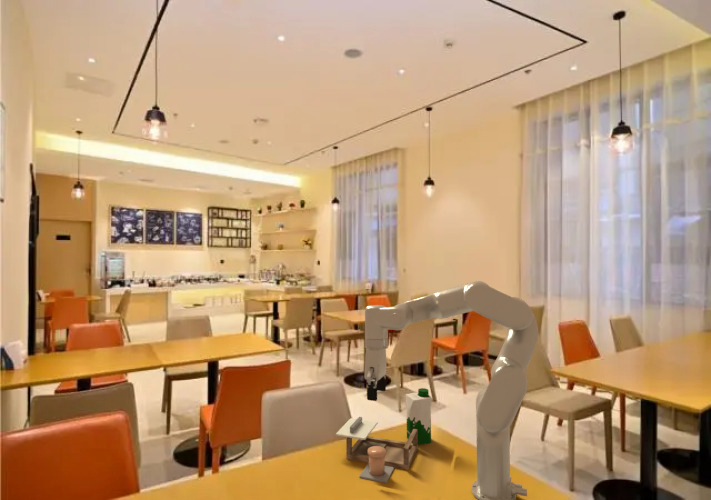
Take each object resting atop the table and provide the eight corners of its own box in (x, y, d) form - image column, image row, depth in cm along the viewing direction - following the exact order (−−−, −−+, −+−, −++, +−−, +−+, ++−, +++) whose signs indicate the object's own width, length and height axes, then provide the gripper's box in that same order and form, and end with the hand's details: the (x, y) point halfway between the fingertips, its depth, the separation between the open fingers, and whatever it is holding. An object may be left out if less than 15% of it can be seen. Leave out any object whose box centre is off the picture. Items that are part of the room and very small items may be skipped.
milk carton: (434, 445, 152) (434, 392, 153) (413, 449, 150) (412, 395, 150) (424, 436, 161) (423, 385, 161) (403, 439, 158) (403, 388, 158)
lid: (377, 423, 153) (377, 416, 153) (364, 440, 139) (364, 432, 139) (350, 419, 157) (350, 412, 157) (335, 435, 143) (335, 428, 143)
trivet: (394, 471, 134) (394, 467, 134) (386, 486, 125) (386, 481, 125) (368, 467, 137) (368, 462, 137) (359, 480, 128) (359, 475, 129)
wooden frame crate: (417, 451, 148) (417, 429, 148) (407, 472, 133) (407, 448, 133) (361, 441, 156) (361, 421, 156) (346, 461, 141) (346, 438, 141)
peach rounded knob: (388, 469, 133) (388, 447, 133) (383, 478, 127) (382, 456, 127) (371, 465, 135) (370, 444, 135) (365, 474, 129) (365, 453, 129)
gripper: (373, 337, 141) (373, 386, 141) (356, 347, 125) (356, 402, 125) (394, 338, 139) (394, 388, 139) (379, 349, 123) (380, 405, 122)
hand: (376, 395), depth 132 cm, fingers open, 9 cm apart
